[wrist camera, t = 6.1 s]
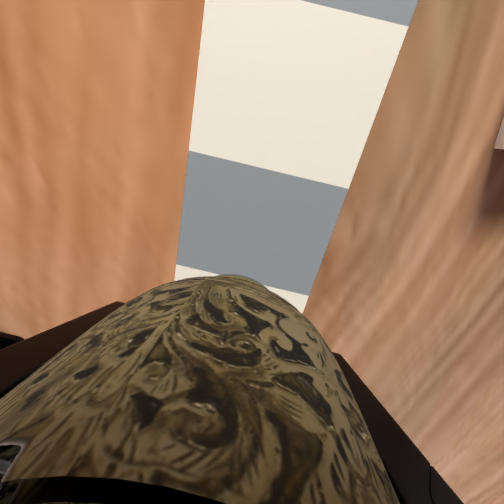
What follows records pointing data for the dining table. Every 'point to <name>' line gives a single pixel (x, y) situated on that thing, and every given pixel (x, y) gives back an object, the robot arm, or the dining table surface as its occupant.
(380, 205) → the dining table surface
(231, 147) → the game board
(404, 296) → the dining table surface
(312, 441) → the olive ornate pot
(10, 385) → the robot arm
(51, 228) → the dining table surface
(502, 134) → the die
